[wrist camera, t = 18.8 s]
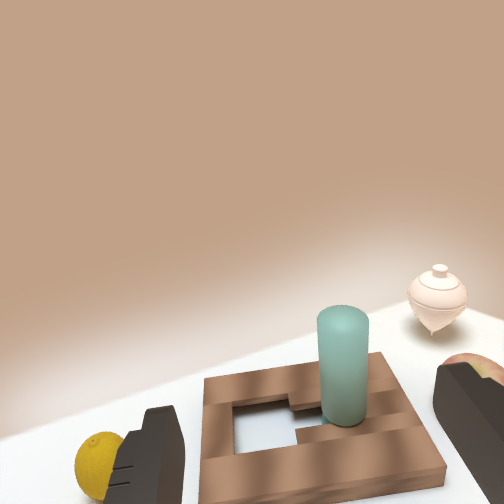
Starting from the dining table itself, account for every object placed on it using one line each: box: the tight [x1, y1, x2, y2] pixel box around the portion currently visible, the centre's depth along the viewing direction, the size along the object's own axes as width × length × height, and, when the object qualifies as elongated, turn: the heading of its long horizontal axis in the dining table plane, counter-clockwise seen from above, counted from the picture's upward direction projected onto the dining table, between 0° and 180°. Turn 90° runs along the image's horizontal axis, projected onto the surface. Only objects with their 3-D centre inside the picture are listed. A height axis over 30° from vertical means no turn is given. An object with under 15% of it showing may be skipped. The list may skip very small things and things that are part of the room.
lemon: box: [75, 432, 124, 500], centre depth 38 cm, size 6×6×8 cm
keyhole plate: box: [198, 352, 447, 504], centre depth 43 cm, size 24×16×3 cm, turn 95°
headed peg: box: [317, 305, 369, 426], centre depth 40 cm, size 5×5×16 cm
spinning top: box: [408, 264, 468, 336], centre depth 53 cm, size 8×8×12 cm
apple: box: [442, 353, 504, 386], centre depth 41 cm, size 8×8×8 cm
